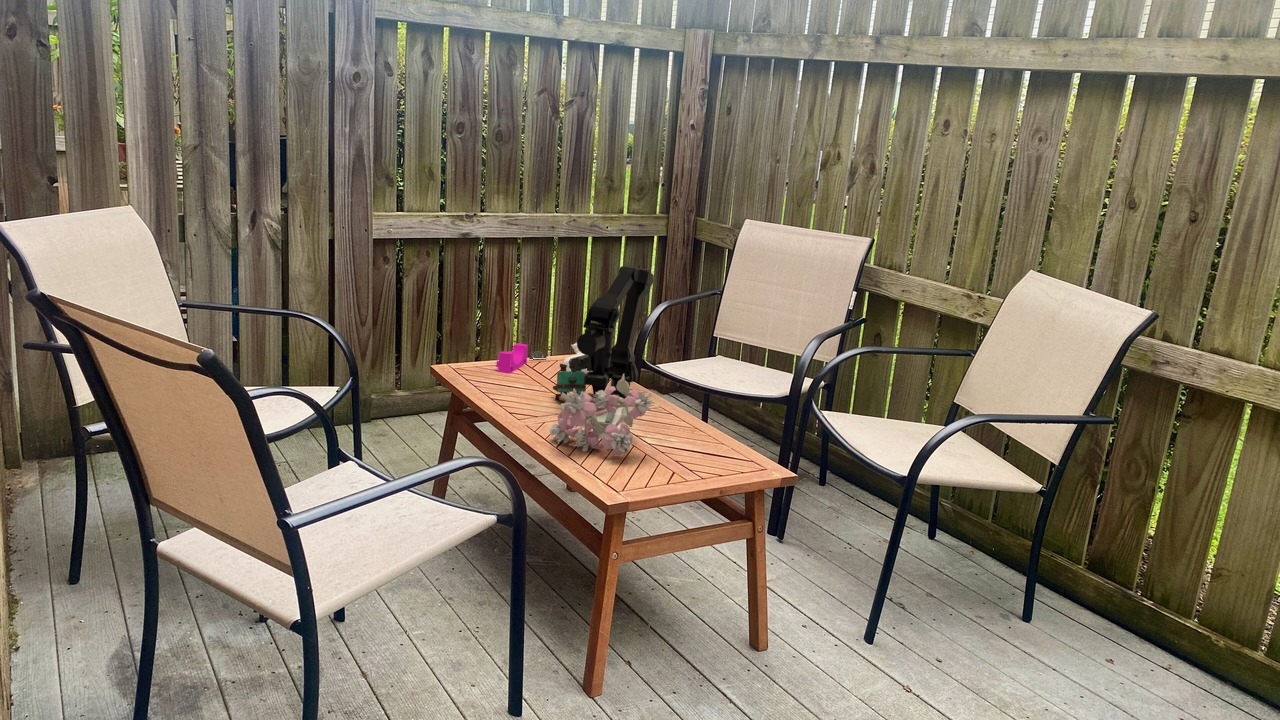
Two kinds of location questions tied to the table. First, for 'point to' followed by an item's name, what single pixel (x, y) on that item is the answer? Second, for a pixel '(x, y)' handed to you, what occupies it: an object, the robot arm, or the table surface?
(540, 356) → the car cutout
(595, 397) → the walnut block
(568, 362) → the white tied sack
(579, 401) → the flower
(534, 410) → the table surface
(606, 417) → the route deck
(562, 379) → the binoculars
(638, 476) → the table surface
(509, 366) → the toy block
